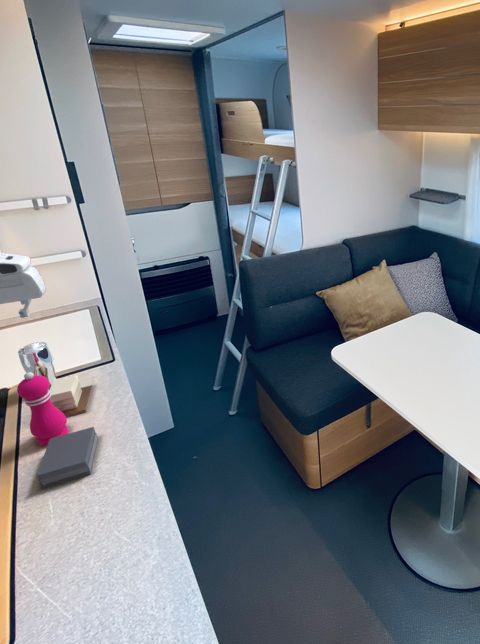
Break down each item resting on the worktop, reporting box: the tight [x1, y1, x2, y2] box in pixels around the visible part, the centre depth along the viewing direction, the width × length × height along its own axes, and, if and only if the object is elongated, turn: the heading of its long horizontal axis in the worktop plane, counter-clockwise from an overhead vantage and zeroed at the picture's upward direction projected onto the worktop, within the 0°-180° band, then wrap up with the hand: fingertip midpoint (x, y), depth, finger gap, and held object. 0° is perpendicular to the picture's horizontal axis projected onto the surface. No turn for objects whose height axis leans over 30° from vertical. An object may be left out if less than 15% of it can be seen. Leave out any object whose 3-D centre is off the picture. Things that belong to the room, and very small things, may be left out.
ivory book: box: [49, 374, 80, 402], centre depth 113 cm, size 6×8×2 cm
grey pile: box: [36, 426, 99, 490], centre depth 96 cm, size 9×12×4 cm
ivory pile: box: [52, 381, 94, 418], centre depth 114 cm, size 10×12×5 cm
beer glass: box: [17, 341, 58, 390], centre depth 119 cm, size 7×7×15 cm
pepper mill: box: [16, 372, 69, 446], centre depth 100 cm, size 7×7×20 cm
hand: (1, 320), depth 98 cm, fingers open, 8 cm apart
